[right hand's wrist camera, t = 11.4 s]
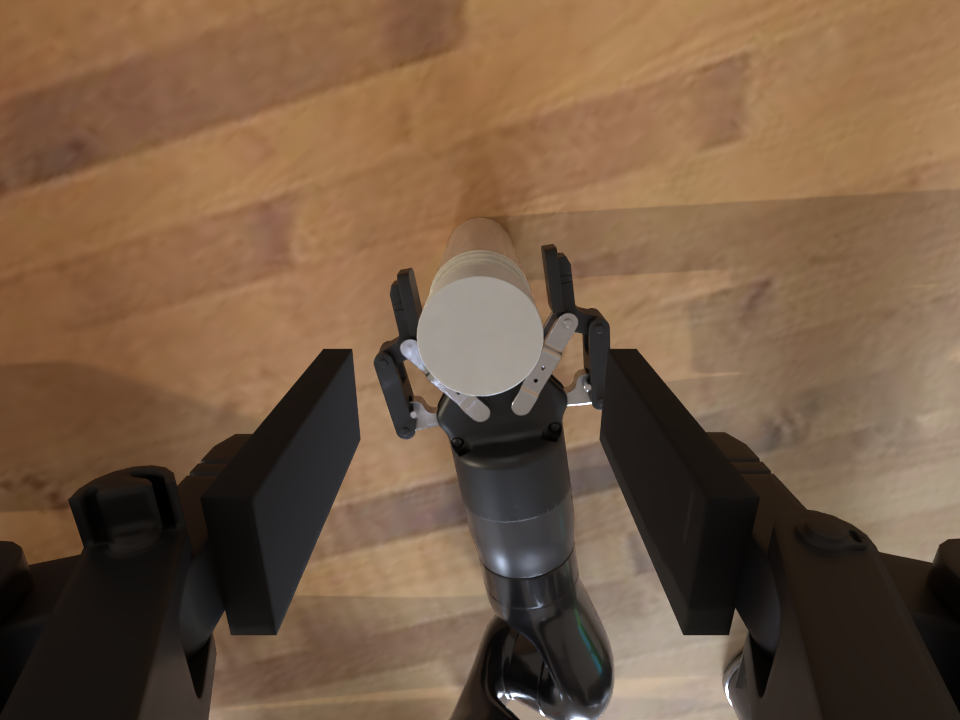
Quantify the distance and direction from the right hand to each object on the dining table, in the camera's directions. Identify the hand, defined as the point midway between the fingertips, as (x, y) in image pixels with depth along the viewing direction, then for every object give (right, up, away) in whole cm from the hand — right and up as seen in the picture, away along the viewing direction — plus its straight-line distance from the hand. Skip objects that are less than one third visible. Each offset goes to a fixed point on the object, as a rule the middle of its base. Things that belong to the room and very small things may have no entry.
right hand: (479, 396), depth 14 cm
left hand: (0, +7, +16) cm, 18 cm away
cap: (0, +2, +5) cm, 5 cm away
